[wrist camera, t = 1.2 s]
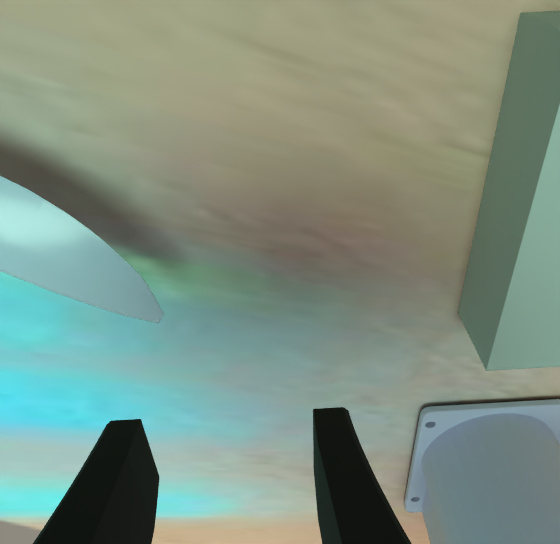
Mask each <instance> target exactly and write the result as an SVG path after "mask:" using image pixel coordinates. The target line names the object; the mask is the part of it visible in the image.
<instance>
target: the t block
mask: <svg viewBox="0 0 560 544" xmlns="http://www.w3.org/2000/svg"><path fill="white" fill-rule="evenodd" d="M458 313H459V315H460V318H461V320H462V322H463V324H464V326H465V328H466V330H467V332H468V334H469V336H470V338H471V340H472V342H473V344H474V346H475V349H476V351H477V353H478V355H479V357H480V359H481V361H482V363H483V365H484V367H485V369H486V371H489V370H507V369H524V368H541V367H559V366H560V11H547V12H529V13H520V18H519V22H518V27H517V32H516V37H515V42H514V46H513V51H512V56H511V61H510V65H509V70H508V75H507V80H506V85H505V89H504V94H503V99H502V104H501V109H500V113H499V118H498V123H497V128H496V132H495V137H494V142H493V147H492V152H491V156H490V161H489V166H488V171H487V175H486V180H485V185H484V190H483V195H482V199H481V204H480V209H479V214H478V218H477V223H476V228H475V233H474V238H473V242H472V247H471V252H470V257H469V262H468V266H467V271H466V276H465V281H464V285H463V290H462V295H461V300H460V305H459V309H458Z"/></svg>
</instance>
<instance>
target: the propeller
mask: <svg viewBox="0 0 560 544" xmlns="http://www.w3.org/2000/svg"><path fill="white" fill-rule="evenodd" d="M0 271H1V272H4V273H6V274H9V275H11V276H14V277H16V278H19V279H21V280H24V281H27V282H29V283H32V284H34V285H37V286H39V287H42V288H44V289H47V290H49V291H52V292H55V293H58V294H61V295H64V296H67V297H69V298H72V299H75V300H78V301H81V302H84V303H86V304H89V305H92V306H95V307H98V308H101V309H105V310H108V311H111V312H114V313H118V314H121V315H124V316H129V317H133V318H138V319H142V320H146V321H151V322H155V323H159V322H160V320H161V319H162V317H163V315H164V313H163V311H162V309H161V308H160V306H159V304H158V302H157V301H156V299H155V297H154V295H153V294H152V292H151V290H150V288H149V287H148V285H147V284H146V282H145V281H144V279H143V278H142V277H141V276H140V275H139V273H138V272H137V271H136V270H135V269H134V268H133V267H132V266H131V265H129V264H128V263H127V262H126V261H125V260H124V259H123V258H122V257H121V256H120V255H119V254H118V253H117V252H116V251H114V250H113V249H112V248H111V247H110V246H109V245H108V244H107V243H105V242H104V241H103V240H102V239H101V238H99V237H98V236H97V235H96V234H95V233H93V232H92V231H91V230H90V229H88V228H87V227H85V226H84V225H83V224H81V223H80V222H78V221H77V220H76V219H74V218H73V217H71V216H70V215H69V214H67V213H66V212H64V211H63V210H61V209H59V208H58V207H56V206H55V205H53V204H51V203H50V202H48V201H46V200H45V199H43V198H41V197H40V196H38V195H36V194H35V193H33V192H31V191H30V190H28V189H26V188H24V187H22V186H20V185H18V184H16V183H14V182H12V181H10V180H8V179H6V178H4V177H1V176H0Z"/></svg>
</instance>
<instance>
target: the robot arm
mask: <svg viewBox="0 0 560 544" xmlns="http://www.w3.org/2000/svg"><path fill="white" fill-rule="evenodd" d="M313 440H314V476H315V488H316V500H317V511H318V521H319V527H320V532H321V538H322V544H411V542H410V540H409V539H408V537H407V535H406V533H405V532H404V530H403V528H402V526H401V525H400V523H399V521H398V519H397V517H396V516H395V514H394V512H393V510H392V508H391V506H390V504H389V502H388V501H387V499H386V497H385V495H384V493H383V491H382V489H381V487H380V485H379V483H378V481H377V479H376V477H375V475H374V473H373V471H372V469H371V467H370V465H369V462H368V460H367V458H366V456H365V454H364V451H363V449H362V447H361V444H360V442H359V440H358V437H357V435H356V432H355V429H354V427H353V424H352V421H351V418H350V415H349V411H348V410H346V409H345V408H343V407H340V408H323V409H313ZM158 486H159V474H158V471H157V468H156V465H155V462H154V459H153V456H152V453H151V450H150V446H149V443H148V440H147V437H146V434H145V431H144V428H143V425H142V421H141V419H134V420H116V421H110V422H109V423H108V424H107V425H106V427H105V429H104V430H103V432H102V434H101V436H100V438H99V439H98V441H97V443H96V444H95V446H94V448H93V450H92V451H91V453H90V455H89V457H88V458H87V460H86V462H85V463H84V465H83V467H82V468H81V470H80V472H79V473H78V475H77V476H76V478H75V480H74V481H73V483H72V485H71V486H70V488H69V489H68V491H67V493H66V494H65V496H64V497H63V499H62V500H61V502H60V503H59V505H58V506H57V508H56V510H55V511H54V513H53V514H52V516H51V517H50V519H49V520H48V522H47V523H46V525H45V526H44V528H43V529H42V531H41V532H40V534H39V535H38V537H37V538H36V540H35V541H34V543H33V544H151V543H152V538H153V532H154V526H155V517H156V508H157V497H158ZM404 506H405V510H406V511H408V512H422V513H423V517H424V521H425V524H426V528H427V532H428V535H429V539H430V543H431V544H560V399H552V400H535V401H517V402H500V403H483V404H466V405H448V406H431V407H426V408H424V409H423V410H422V411H421V413H420V417H419V422H418V428H417V434H416V439H415V445H414V450H413V456H412V461H411V467H410V473H409V478H408V484H407V489H406V495H405V500H404Z"/></svg>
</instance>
